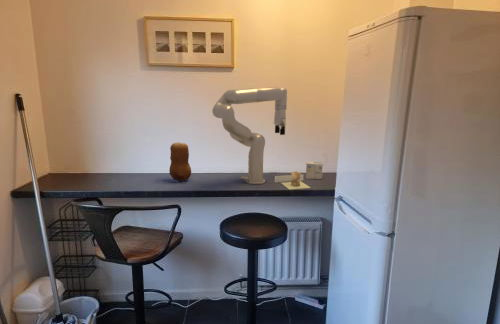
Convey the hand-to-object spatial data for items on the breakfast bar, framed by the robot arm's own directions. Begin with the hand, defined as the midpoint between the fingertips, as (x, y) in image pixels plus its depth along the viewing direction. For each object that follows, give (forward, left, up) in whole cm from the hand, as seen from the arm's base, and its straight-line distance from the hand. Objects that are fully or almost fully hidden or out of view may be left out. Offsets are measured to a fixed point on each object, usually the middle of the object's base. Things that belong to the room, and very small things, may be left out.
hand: (279, 133), depth 206 cm
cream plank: (+4, -9, -30) cm, 32 cm away
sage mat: (+4, -20, -30) cm, 37 cm away
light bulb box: (+24, -5, -31) cm, 39 cm away
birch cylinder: (+4, -20, -30) cm, 36 cm away
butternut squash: (-65, +8, -31) cm, 72 cm away
